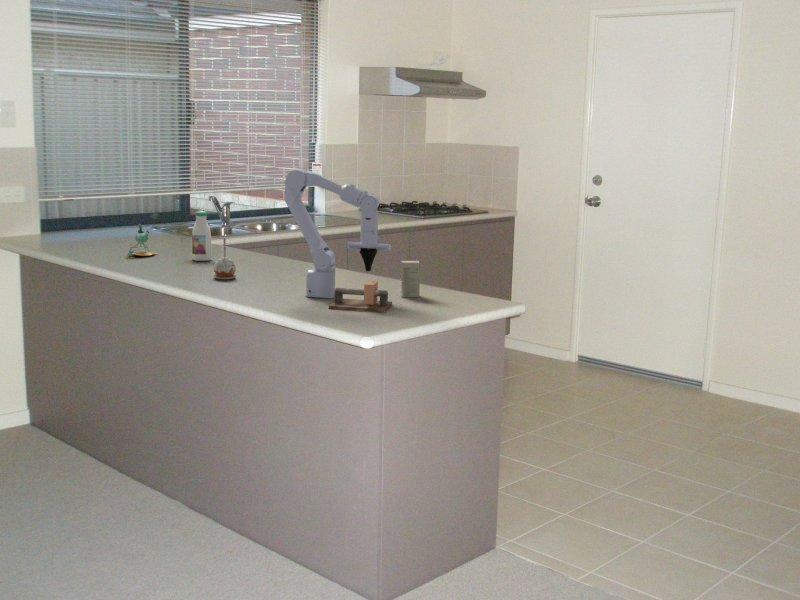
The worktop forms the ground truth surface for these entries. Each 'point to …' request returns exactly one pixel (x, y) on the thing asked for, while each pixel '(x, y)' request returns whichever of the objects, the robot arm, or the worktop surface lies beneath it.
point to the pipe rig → (359, 301)
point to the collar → (370, 292)
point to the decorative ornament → (224, 267)
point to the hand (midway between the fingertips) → (368, 270)
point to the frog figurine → (140, 239)
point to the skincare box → (410, 278)
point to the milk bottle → (201, 238)
